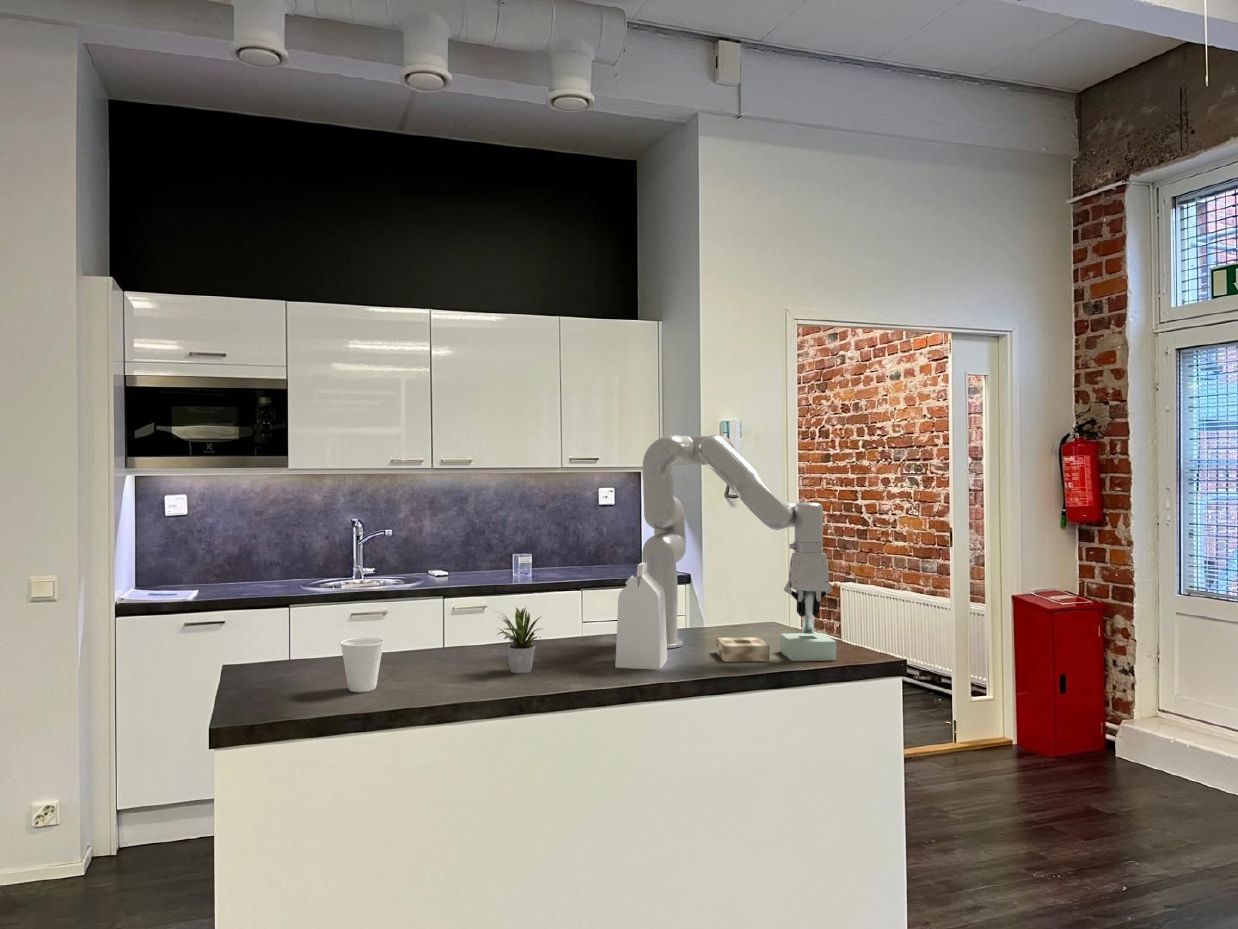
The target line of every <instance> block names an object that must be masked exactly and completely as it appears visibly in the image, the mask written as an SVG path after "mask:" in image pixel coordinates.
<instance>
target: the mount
mask: <svg viewBox="0 0 1238 929" xmlns="http://www.w3.org/2000/svg"><path fill="white" fill-rule="evenodd" d="M770 647H771V646H770V645H769V644H768V643H767V642H765V641H764V640H763V639H762V638H761V637H760V636H759V637H756V636H753V637H752V636H751V637H750V636H749V637H747V636H746V637H745V636H744V637H743V636H742V637H716V639H715V653H716V654H717V655H718V656H719V657H720V659H721V660H722V661H723V662H724V663H725V662H727V663H728V662H770V659H771V658H770V654H771V653H770V652H771V651H770Z"/></svg>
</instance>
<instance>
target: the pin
mask: <svg viewBox="0 0 1238 929" xmlns="http://www.w3.org/2000/svg"><path fill="white" fill-rule="evenodd" d="M802 599H803V602H804V616H803V617H801V633H806V634H813V633H815V616H814V591H803V598H802Z"/></svg>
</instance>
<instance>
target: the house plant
mask: <svg viewBox="0 0 1238 929" xmlns="http://www.w3.org/2000/svg"><path fill="white" fill-rule="evenodd" d="M526 608H527V606H525V607H523V608H522V609H519V608H518V607H515V615H514V617H515V625H516V628H515V627H514V625H513V624H512V622H511V621H510V620H509V618H508V617H507V616H506V615H505V614H504V613H502V612H500V611H497V610H496V611H495V610H494V612H496V613H499V614H502V616H501V615H499V616H498V618H499V619H502V621H503V622H504V623H505V624H507V625H506V626H508V627H506V628H502V629H501V628H497V627H496V628H495V629H497V630H500V632H498V633H497V634H496V636H498V635H500V634H503V635H505V636H504V639H503V640H506V639H509V641H510V642H512V643H511V644H508V645H507V646H506V650H507V656H508V663H509V669H510V672H511V673H513V674H528V673H531V672H532V668H533V662H534V656H535V651H536V645H535V644H532V642H533V641H534V640H535V639H537V638H538V636H534V635H535V632H536V631H539V630H540V628H536V629H534V630H533V628H534V626H535V624H536V623H537V621H539V619H541V618H542V615H540V616H539V617H538V618H537V619H535V620H534V621H533V622H532V623H531V622H530V621H531V613H530V612H528V611H527V609H526ZM520 610H521V611H520ZM530 623H531V625H530ZM529 625H530V626H529ZM504 630H507V631H504ZM532 630H533V631H532ZM542 630H544V629H543V628H542ZM508 631H511V633H512V634H513V635H512V634H510V633H509V632H508ZM531 631H532V632H531ZM539 638H540V639H542V638H541V636H539Z"/></svg>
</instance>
